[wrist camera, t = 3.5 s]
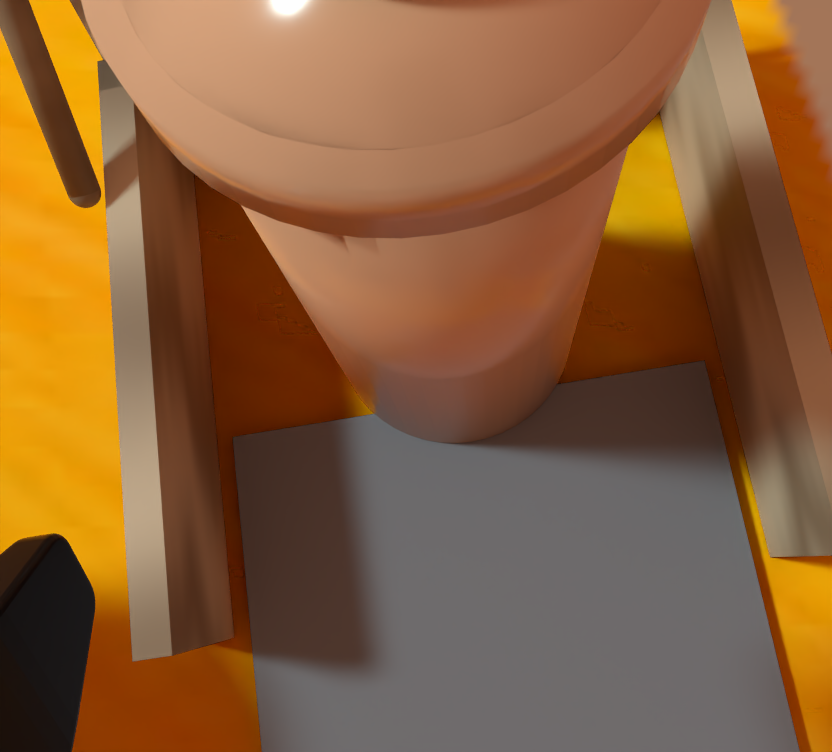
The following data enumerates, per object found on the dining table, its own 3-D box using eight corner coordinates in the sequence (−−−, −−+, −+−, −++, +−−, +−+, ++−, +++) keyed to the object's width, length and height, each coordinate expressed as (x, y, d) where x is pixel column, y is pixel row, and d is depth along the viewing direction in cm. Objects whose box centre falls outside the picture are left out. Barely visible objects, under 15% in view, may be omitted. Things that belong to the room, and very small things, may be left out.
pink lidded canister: (639, 300, 20) (997, -478, 6) (481, 514, 19) (444, 199, 5) (428, 168, 22) (305, -692, 8) (271, 357, 21) (-234, -233, 6)
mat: (830, 895, 17) (836, 901, 17) (285, 966, 18) (282, 973, 17) (701, 363, 20) (704, 360, 20) (236, 438, 21) (232, 436, 20)
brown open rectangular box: (804, 552, 19) (1426, 528, 6) (172, 646, 20) (-375, 790, 7) (650, -43, 23) (847, -769, 10) (131, 54, 24) (-265, -516, 11)
